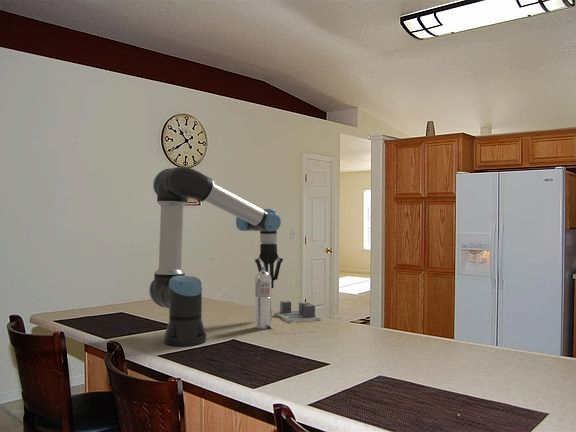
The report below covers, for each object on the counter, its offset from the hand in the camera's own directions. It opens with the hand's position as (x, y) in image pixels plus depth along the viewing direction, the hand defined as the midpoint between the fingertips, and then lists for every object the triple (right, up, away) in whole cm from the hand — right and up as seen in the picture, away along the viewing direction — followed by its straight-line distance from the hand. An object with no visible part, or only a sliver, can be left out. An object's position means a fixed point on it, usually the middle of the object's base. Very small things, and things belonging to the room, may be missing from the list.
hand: (269, 295), depth 223 cm
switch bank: (+13, -11, -3) cm, 17 cm away
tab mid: (+16, -9, -2) cm, 18 cm away
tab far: (+7, -9, +2) cm, 12 cm away
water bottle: (-2, -11, -17) cm, 21 cm away
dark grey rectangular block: (+18, -9, -7) cm, 21 cm away
